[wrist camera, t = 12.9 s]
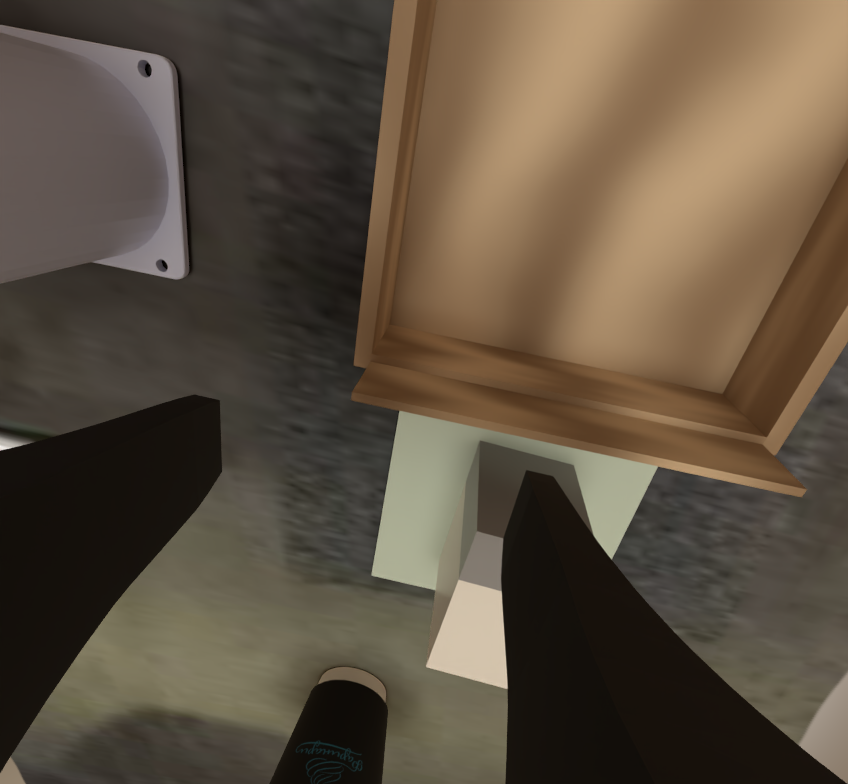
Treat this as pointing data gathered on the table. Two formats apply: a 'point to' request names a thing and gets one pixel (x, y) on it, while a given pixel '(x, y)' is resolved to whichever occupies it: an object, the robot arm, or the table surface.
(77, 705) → the table surface
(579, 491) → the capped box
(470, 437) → the panel
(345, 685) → the dixie cup
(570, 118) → the wooden crate
